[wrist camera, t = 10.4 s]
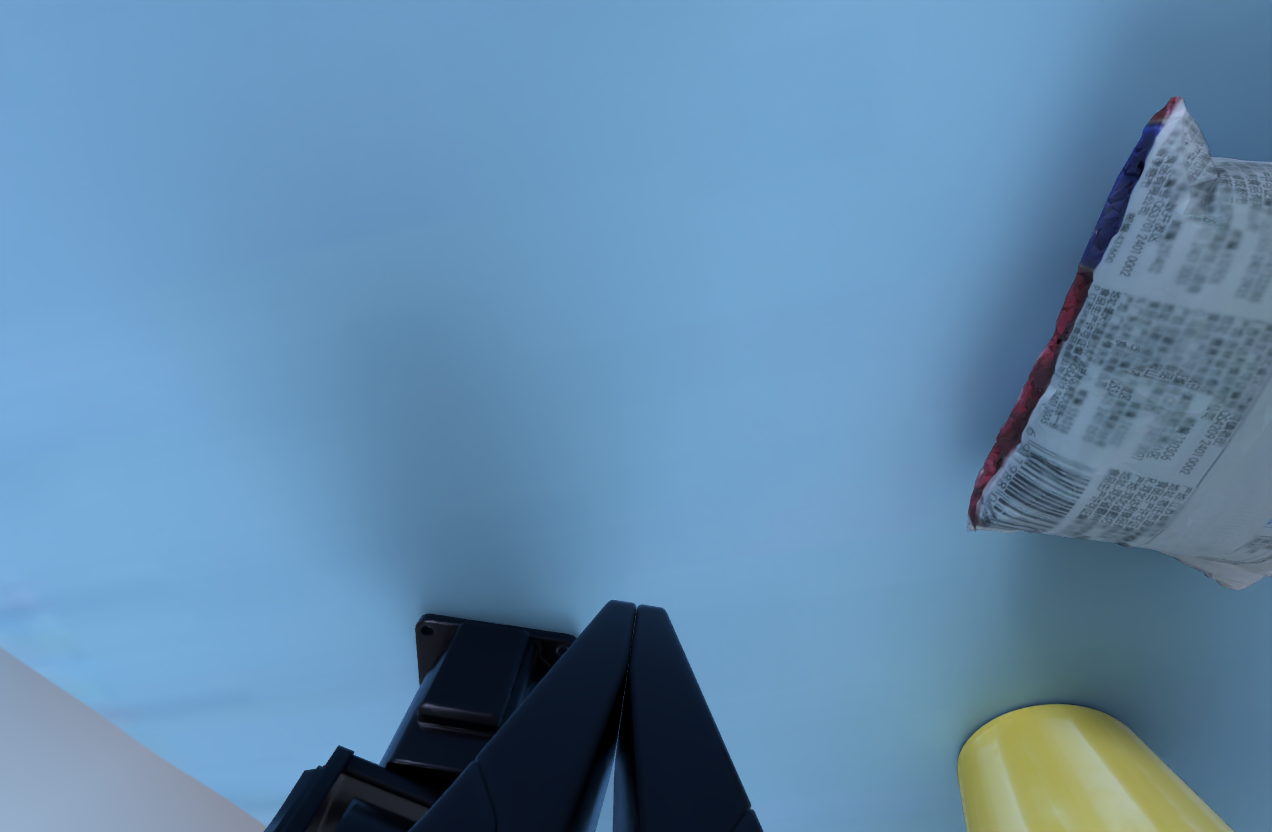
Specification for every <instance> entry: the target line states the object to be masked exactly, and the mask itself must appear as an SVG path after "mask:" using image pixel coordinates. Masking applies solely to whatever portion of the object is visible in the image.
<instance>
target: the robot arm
mask: <svg viewBox="0 0 1272 832" xmlns="http://www.w3.org/2000/svg"><path fill="white" fill-rule="evenodd" d="M635 616H636V618H635ZM634 623H635V625H634ZM428 626H429V627H431V628H429V627H428ZM633 630H634V632H633ZM415 632H416V645H417V657H418V670H419V683H420V687H419V689H418V691H417V693H416V695H415V697H414V699H413V701H412V703H411V705H410V707H409V708H408V710H407V712H406V714H405V716H404V718H403V720H402V722H401V724H400V726H399V728H398V730H397V731H396V733H395V735H394V737H393V739H392V741H391V743H390V745H389V747H388V749H387V751H386V752H385V754H384V756H383V758H382V760H381V762H380V764H379V765H377V764H375V763H372V762H370V761H368V760H365V759H363V758H360V757H358V756H355V755H353V754H354V751H352V750H350V749H347V748H345V747H342V746H340V745H339V746H338V747H337V749H336V750H335V752H334V753H333V755H332V756H331V758H330V759H329V760H328V762H327V763H326V765H325V766H323V767H322V766H318V767H317V769H312V770H305V771H304V772H303V774H302V775H301V777H300V779H299V780H298V782H297V783H296V785H295V786H294V788H293V790H292V791H291V793H290V794H289V796H288V798H287V799H286V801H285V802H284V804H283V805H282V807H281V808H280V810H279V811H278V813H277V814H276V816H275V817H274V819H273V820H272V822H271V823H270V824H269V826H268V827H267V828H266V830H265V831H264V832H595V831H596V827H597V823H598V819H599V816H600V812H601V808H602V804H603V801H604V797H605V793H606V789H607V786H608V782H609V778H610V774H611V770H612V766H613V762H614V756H615V751H616V758H615V773H614V804H613V832H763V830H762V827H761V825H760V823H759V821H758V818H757V816H756V814H755V812H754V810H752V809H750V808H751V803H750V801H749V799H748V796H747V794H746V792H745V789H744V787H743V785H742V783H741V780H740V778H739V776H738V774H737V771H736V769H735V767H734V764H733V762H732V760H731V758H730V755H729V753H728V751H727V749H726V746H725V744H724V742H723V739H722V737H721V735H720V733H719V730H718V728H717V726H716V724H715V721H714V719H713V717H712V714H711V712H710V710H709V708H708V705H707V703H706V701H705V698H704V696H703V694H702V692H701V689H700V687H699V685H698V683H697V680H696V678H695V676H694V673H693V671H692V669H691V667H690V664H689V662H688V660H687V658H686V655H685V653H684V651H683V648H682V646H681V644H680V642H679V639H678V637H677V635H676V633H675V630H674V628H673V626H672V623H671V621H670V619H669V617H668V614H667V612H666V611H665V609H663V608H661V607H655V606H648V605H639V606H638V607H637V611H636V605H635V604H634V603H630V602H624V601H617V600H611V601H609V602H608V603H607V604H606V605H605V606H604V607H603V608H602V610H601V611H600V612H599V613H598V614H597V615H596V617H595V618H594V619H593V620H592V621H591V623H590V624H589V625H588V626H587V627H586V628H585V630H584V631H583V632H582V633H581V634H580V635H579V637H578V638H576V637H574V636H573V635H569V634H564V633H557V632H550V631H543V630H537V629H530V628H523V627H516V626H510V625H503V624H496V623H489V622H482V621H476V620H469V619H462V618H455V617H449V616H442V615H435V614H425V615H423V616H422V617H421V618H420V619H419V621H418V623H417V624H416V628H415ZM632 637H633V638H632ZM631 644H632V645H631ZM564 646H566V647H569V648H568V649H567V648H564ZM630 651H631V652H630ZM629 658H630V659H629ZM628 665H629V666H628ZM627 671H628V672H627ZM626 678H627V679H626ZM625 685H626V686H625ZM624 692H625V693H624ZM623 698H624V700H623ZM622 705H623V707H622ZM621 712H622V714H621ZM620 718H621V721H620ZM619 725H620V727H619ZM618 732H619V734H618ZM617 739H618V741H617ZM616 745H617V749H616Z"/></svg>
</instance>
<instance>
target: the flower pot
mask: <svg viewBox="0 0 1272 832" xmlns="http://www.w3.org/2000/svg"><path fill="white" fill-rule="evenodd" d="M957 773H958V780H959V786H960V793H961V799H962V805H963V811H964V818H965V824H966V830H967V832H1234V831H1233V830H1232V829H1231V828H1230V827H1229V826H1228V825H1227V824H1226V823H1225V822H1224V821H1223V820H1222V819H1221V818H1220V817H1219V816H1218V815H1217V814H1216V813H1215V812H1214V811H1213V810H1212V809H1211V808H1210V807H1209V806H1208V805H1207V804H1206V803H1205V802H1204V801H1203V800H1202V799H1201V798H1200V797H1199V796H1198V795H1197V794H1196V793H1195V792H1194V791H1193V790H1192V789H1191V788H1190V787H1189V786H1188V785H1187V784H1186V783H1185V782H1183V781H1182V780H1181V779H1180V778H1179V777H1178V776H1177V775H1176V774H1175V773H1174V772H1173V771H1172V770H1171V769H1170V768H1169V767H1168V766H1167V765H1166V764H1165V763H1164V762H1163V761H1162V760H1161V759H1160V758H1159V757H1158V756H1157V755H1156V754H1155V753H1154V752H1153V751H1152V750H1151V749H1150V748H1149V747H1148V746H1147V745H1146V744H1145V743H1144V742H1143V741H1142V740H1141V739H1140V738H1139V737H1138V736H1137V735H1136V734H1135V733H1134V732H1133V731H1132V730H1131V729H1130V728H1129V727H1128V726H1126V725H1125V724H1124V723H1122V722H1121V721H1119V720H1118V719H1116V718H1114V717H1112V716H1110V715H1108V714H1106V713H1103V712H1101V711H1098V710H1095V709H1092V708H1087V707H1083V706H1077V705H1068V704H1046V705H1036V706H1030V707H1026V708H1022V709H1018V710H1014V711H1011V712H1008V713H1006V714H1003V715H1001V716H999V717H997V718H995V719H993V720H991V721H990V722H988V723H987V724H985V725H983V726H982V727H981V728H979V729H978V730H977V731H976V732H975V733H974V734H973V735H972V736H971V737H970V738H969V739H968V740H967V741H966V743H965V744H964V746H963V748H962V750H961V752H960V755H959V758H958V765H957Z"/></svg>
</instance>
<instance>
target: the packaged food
mask: <svg viewBox="0 0 1272 832" xmlns="http://www.w3.org/2000/svg"><path fill="white" fill-rule="evenodd" d="M996 439H997V442H996V443H995V445H994V446H993V448H992V450H991V452H990V454H989V455H988V457H987V459H986V461H985V463H984V466H983V467H982V469H981V470H980V472H979V474H978V476H977V479H976V481H975V486H974V491H973V493H972V496H971V500H970V506H969V510H968V522H967V531H968V532H970V531H972V530H975V531H976V530H990V531H997V532H1003V533H1015V532H1020V531H1026V532H1033V533H1041V534H1050V535H1056V536H1061V537H1067V538H1079V539H1087V540H1095V541H1103V542H1114V543H1116V544H1119V545H1121V546H1124V547H1127V548H1133V547H1139V548H1146V549H1152V550H1156V551H1159V552H1161V553H1163V554H1165V555H1168V556H1171V557H1173V558H1175V559H1177V560H1178V561H1180V562H1182V563H1184V564H1185V565H1188V566H1191V567H1193V568H1195V569H1196V570H1198V571H1200V572H1202V573H1204V575H1205V576H1207V577H1209V578H1212V579H1214V580H1216V582H1217V583H1219V584H1220V585H1221V586H1224V587H1227V588H1230V589H1233V590H1242V589H1245V588H1247V587H1248V586H1250V585H1252V584H1254V583H1255V582H1257V581H1259V580H1260V579H1262V578H1263V577H1264V576H1269V577H1271V576H1272V162H1256V161H1248V160H1239V159H1231V158H1219V157H1211V154H1210V151H1209V148H1208V145H1207V143H1206V141H1205V138H1204V136H1203V134H1202V132H1201V130H1200V128H1199V125H1198V123H1197V122H1196V121H1195V120H1194V118H1193V117H1192V116H1191V114H1190V113H1189V112H1188V111H1187V109H1186V106H1185V102H1184V99H1183V98H1182V97H1180V96H1176V97H1173V98H1171V99H1170V100H1169V102H1168V103H1167V104H1166V106H1165V107H1164V108H1163V109H1161V110H1160V111H1159V112H1158V113H1156V114H1155V115H1154V116H1153V117H1152V118H1151V120H1150V121H1149V122H1148V124H1147V125H1146V126H1145V128H1144V130H1143V133H1142V137H1141V139H1140V140H1139V142H1138V144H1137V145H1136V147H1135V149H1134V150H1133V152H1132V154H1131V155H1130V157H1129V159H1128V161H1127V162H1126V164H1125V166H1124V168H1123V169H1122V171H1121V172H1120V174H1119V175H1118V178H1117V180H1116V182H1115V184H1114V186H1113V189H1112V191H1111V193H1110V195H1109V197H1108V200H1107V202H1106V204H1105V207H1104V209H1103V211H1102V213H1101V216H1100V218H1099V220H1098V222H1097V225H1096V227H1095V229H1094V232H1093V234H1092V236H1091V238H1090V241H1089V243H1088V245H1087V248H1086V250H1085V252H1084V255H1083V257H1082V260H1081V262H1080V264H1079V267H1078V272H1077V275H1076V278H1075V280H1074V282H1073V284H1072V286H1071V288H1070V290H1069V292H1068V294H1067V296H1066V299H1065V302H1064V305H1063V307H1062V310H1061V312H1060V314H1059V317H1058V319H1057V322H1056V330H1055V333H1054V335H1053V337H1052V339H1051V340H1050V342H1049V343H1048V345H1047V346H1046V348H1045V349H1044V350H1043V352H1042V353H1041V354H1040V356H1039V357H1038V358H1037V360H1036V363H1035V365H1034V367H1033V369H1032V371H1031V373H1030V376H1029V379H1028V381H1027V382H1026V384H1025V385H1024V387H1023V388H1022V391H1021V393H1020V395H1019V398H1018V400H1017V402H1016V404H1015V406H1014V408H1013V410H1012V412H1011V414H1010V417H1009V419H1008V420H1007V422H1006V423H1005V424H1004V425H1003V426H1002V428H1001V430H1000V433H999V435H998V436H997V438H996Z"/></svg>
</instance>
